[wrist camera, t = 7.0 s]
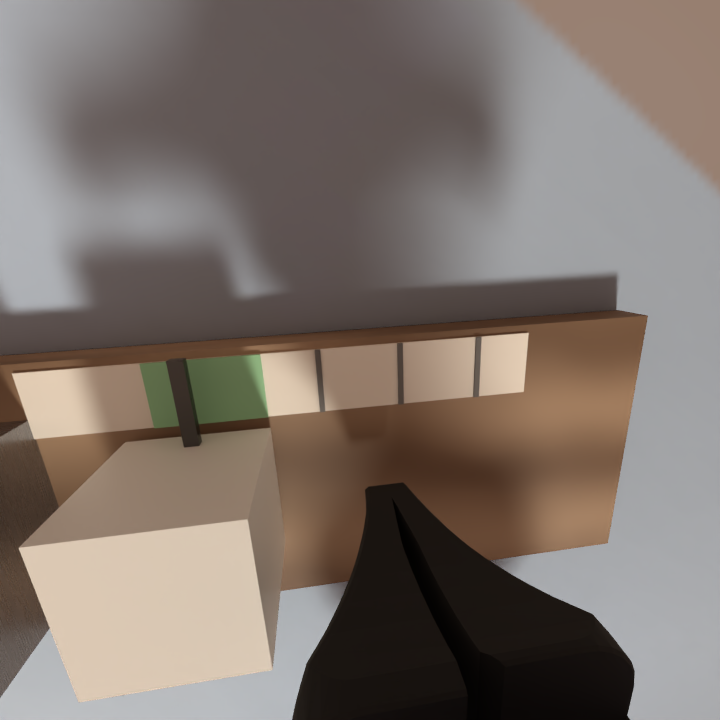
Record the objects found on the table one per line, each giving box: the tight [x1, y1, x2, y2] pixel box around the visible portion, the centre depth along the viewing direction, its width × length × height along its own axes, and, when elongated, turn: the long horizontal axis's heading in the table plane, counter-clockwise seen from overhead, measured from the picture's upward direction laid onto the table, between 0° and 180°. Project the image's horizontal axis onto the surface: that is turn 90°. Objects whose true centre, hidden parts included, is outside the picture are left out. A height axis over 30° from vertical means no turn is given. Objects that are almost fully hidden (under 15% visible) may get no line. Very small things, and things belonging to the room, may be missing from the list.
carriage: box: [19, 358, 285, 702], centre depth 11 cm, size 8×5×5 cm, turn 3°
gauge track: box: [0, 310, 648, 697], centre depth 13 cm, size 11×26×6 cm, turn 93°
